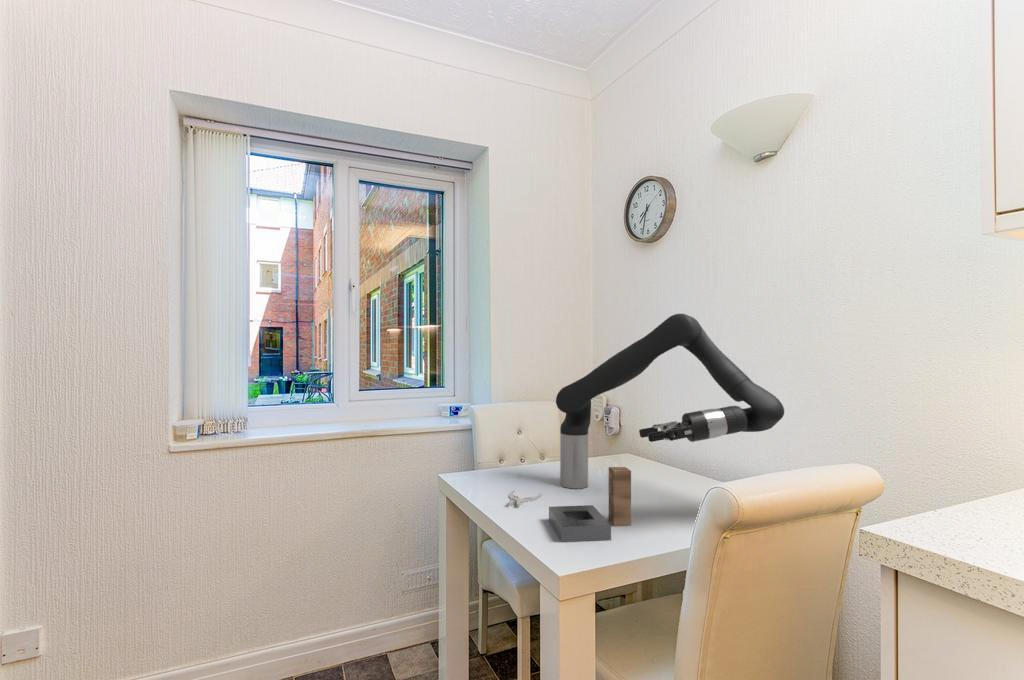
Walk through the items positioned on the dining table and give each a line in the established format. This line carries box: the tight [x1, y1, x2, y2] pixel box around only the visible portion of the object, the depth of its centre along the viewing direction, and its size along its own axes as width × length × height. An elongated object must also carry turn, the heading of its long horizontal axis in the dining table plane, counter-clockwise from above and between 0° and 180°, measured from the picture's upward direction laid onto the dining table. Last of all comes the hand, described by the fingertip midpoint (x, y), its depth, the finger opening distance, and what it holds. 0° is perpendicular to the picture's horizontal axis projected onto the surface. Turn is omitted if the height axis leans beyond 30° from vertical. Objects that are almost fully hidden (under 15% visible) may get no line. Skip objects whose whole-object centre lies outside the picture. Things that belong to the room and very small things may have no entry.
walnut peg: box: [608, 466, 632, 527], centre depth 127 cm, size 4×4×14 cm
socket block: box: [548, 504, 612, 543], centre depth 122 cm, size 15×12×4 cm
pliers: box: [506, 490, 543, 509], centre depth 146 cm, size 10×2×15 cm
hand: (644, 435), depth 128 cm, fingers open, 8 cm apart
